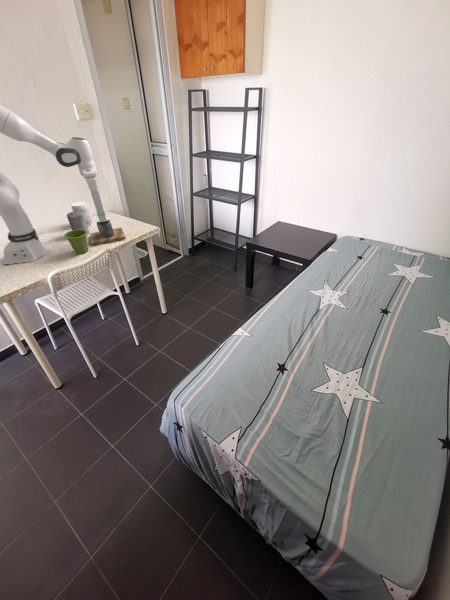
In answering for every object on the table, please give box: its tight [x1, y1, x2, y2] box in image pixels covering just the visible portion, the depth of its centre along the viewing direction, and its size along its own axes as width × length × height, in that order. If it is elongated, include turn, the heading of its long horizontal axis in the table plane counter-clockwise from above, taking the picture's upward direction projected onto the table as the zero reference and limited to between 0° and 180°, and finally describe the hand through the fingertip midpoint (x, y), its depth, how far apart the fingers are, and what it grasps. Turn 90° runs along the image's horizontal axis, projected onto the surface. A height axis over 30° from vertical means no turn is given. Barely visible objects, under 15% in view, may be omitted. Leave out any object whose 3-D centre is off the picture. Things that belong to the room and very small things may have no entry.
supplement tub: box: [70, 201, 93, 227], centre depth 196 cm, size 10×10×15 cm
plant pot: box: [63, 229, 89, 255], centre depth 162 cm, size 12×12×11 cm
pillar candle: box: [66, 211, 90, 235], centre depth 182 cm, size 10×10×15 cm
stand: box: [89, 219, 127, 247], centre depth 177 cm, size 20×16×11 cm
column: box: [90, 190, 108, 222], centre depth 168 cm, size 5×5×21 cm
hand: (95, 196), depth 165 cm, fingers closed on column, 4 cm apart
